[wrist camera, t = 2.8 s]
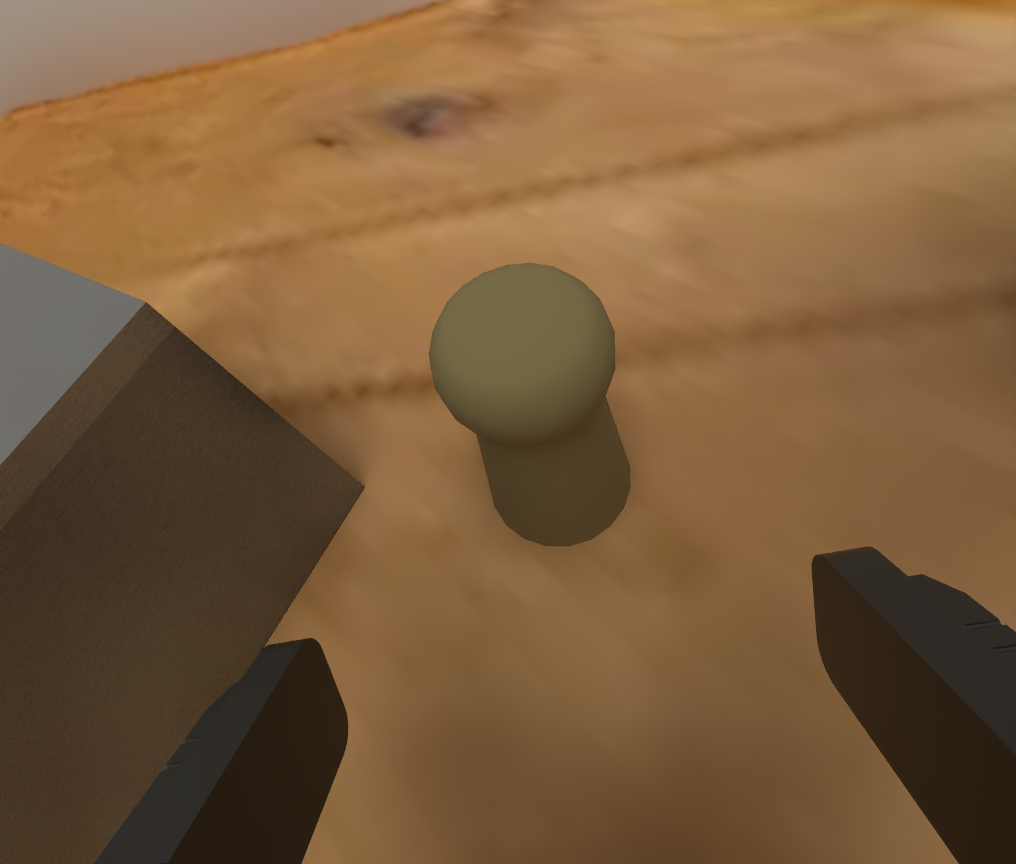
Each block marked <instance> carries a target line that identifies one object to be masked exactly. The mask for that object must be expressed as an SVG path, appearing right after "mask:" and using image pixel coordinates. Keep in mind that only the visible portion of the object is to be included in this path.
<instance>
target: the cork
mask: <svg viewBox="0 0 1016 864" xmlns="http://www.w3.org/2000/svg"><path fill="white" fill-rule="evenodd" d="M429 358H430V365H431V370H432V375H433V380H434V384H435V389H436V391H437V392H438V394H439V395H440V397H441V399H442V400H443V402H444V403H445V405H446V406H447V408H448V409H449V410H450V412H451V413H452V415H453V416H454V418H455V419H456V420H457V421H458V422H460V423H461V424H463V425H464V426H466V427H467V428H468V429H470V430H471V431H473V432H474V433H476V434H477V438H478V442H479V446H480V450H481V453H482V457H483V461H484V465H485V469H486V473H487V477H488V481H489V485H490V489H491V493H492V497H493V501H494V504H495V508H496V509H497V511H498V512H499V514H500V516H501V517H502V519H503V520H504V522H505V523H506V525H507V526H509V527H510V528H511V529H513V530H514V531H515V532H516V533H518V534H519V535H520V536H522V537H523V538H525V539H528V540H530V541H533V542H536V543H539V544H542V545H545V546H570V545H573V544H577V543H580V542H583V541H587V540H590V539H592V538H593V537H595V536H596V535H598V534H599V533H601V532H602V531H604V530H605V529H607V528H608V527H609V526H610V525H611V524H612V523H613V521H614V520H615V519H616V517H617V516H618V515H619V514H620V512H621V511H622V510H623V508H624V505H625V502H626V499H627V496H628V493H629V490H630V466H629V463H628V460H627V457H626V454H625V452H624V449H623V446H622V443H621V440H620V437H619V434H618V431H617V428H616V426H615V423H614V420H613V417H612V414H611V411H610V408H609V405H608V402H607V400H606V397H605V395H606V393H607V390H608V387H609V385H610V382H611V379H612V376H613V374H614V371H615V332H614V329H613V327H612V325H611V322H610V320H609V318H608V316H607V313H606V311H605V309H604V307H603V305H602V302H601V300H600V299H599V298H598V297H597V296H596V295H595V294H594V293H593V292H592V291H591V290H590V289H589V288H588V287H587V286H586V285H585V284H584V283H583V282H582V281H580V280H579V279H577V278H576V277H574V276H572V275H570V274H568V273H566V272H564V271H562V270H560V269H558V268H556V267H553V266H546V265H540V264H534V263H525V264H514V265H506V266H503V267H500V268H497V269H494V270H491V271H488V272H485V273H483V274H481V275H479V276H478V277H476V278H474V279H473V280H471V281H470V282H468V283H466V284H465V285H463V286H462V287H461V288H460V289H459V290H458V291H457V292H456V293H455V294H454V295H453V296H452V298H451V299H450V300H449V301H448V302H447V303H446V305H445V307H444V309H443V311H442V313H441V314H440V316H439V318H438V320H437V322H436V325H435V327H434V329H433V332H432V339H431V345H430V351H429Z"/></svg>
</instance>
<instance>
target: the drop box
mask: <svg viewBox="0 0 1016 864" xmlns="http://www.w3.org/2000/svg"><path fill="white" fill-rule="evenodd" d="M363 489H364V486H363V485H361V484H360V483H359V482H358V481H357V480H356V479H354V478H353V477H352V476H351V475H350V474H348V473H347V472H346V471H345V470H344V469H343V468H341V467H340V466H339V465H338V464H337V463H335V462H334V461H333V460H332V459H331V458H330V457H328V456H327V455H326V454H325V453H324V452H322V451H321V450H320V449H319V448H318V447H317V446H315V445H314V444H313V443H312V442H311V441H309V440H308V439H307V438H306V437H305V436H304V435H302V434H301V433H300V432H299V431H298V430H296V429H295V428H294V427H293V426H292V425H291V424H289V423H288V422H287V421H286V420H285V419H283V418H282V417H281V416H280V415H279V414H278V413H276V412H275V411H274V410H273V409H272V408H270V407H269V406H268V405H267V404H266V403H265V402H263V401H262V400H261V399H260V398H259V397H257V396H256V395H255V394H254V393H253V392H252V391H250V390H249V389H248V388H247V387H246V386H245V385H243V384H242V383H241V382H240V381H239V380H237V379H236V378H235V377H234V376H233V375H232V374H230V373H229V372H228V371H227V370H226V369H224V368H223V367H222V366H221V365H220V364H219V363H217V362H216V361H215V360H214V359H213V358H211V357H210V356H209V355H208V354H207V353H206V352H204V351H203V350H202V349H201V348H200V347H198V346H197V345H196V344H195V343H194V342H193V341H191V340H190V339H189V338H188V337H187V336H185V335H184V334H183V333H182V332H181V331H180V330H178V329H177V328H176V327H175V326H174V325H172V324H171V323H170V322H169V321H168V320H167V319H165V318H164V317H163V316H162V315H161V314H159V313H158V312H157V311H156V310H155V309H154V308H152V307H151V306H150V305H149V304H148V303H146V302H145V301H142V300H140V299H137V298H135V297H132V296H130V295H127V294H125V293H122V292H120V291H117V290H115V289H112V288H110V287H108V286H105V285H103V284H100V283H98V282H95V281H93V280H90V279H88V278H85V277H83V276H80V275H78V274H75V273H73V272H70V271H68V270H66V269H63V268H61V267H58V266H56V265H53V264H51V263H48V262H46V261H43V260H41V259H38V258H36V257H33V256H31V255H28V254H26V253H24V252H21V251H19V250H16V249H14V248H11V247H9V246H6V245H4V244H1V243H0V864H94V862H95V861H96V860H97V858H98V857H99V855H100V854H101V853H102V851H103V850H104V849H105V847H106V846H107V845H108V843H109V842H110V840H111V839H112V838H113V836H114V835H115V834H116V832H117V831H118V829H119V828H120V827H121V825H122V824H123V823H124V821H125V820H126V819H127V817H128V816H129V814H130V813H131V812H132V810H133V809H134V808H135V806H136V805H137V804H138V802H139V801H140V799H141V798H142V797H143V795H144V794H145V793H146V791H147V790H148V788H149V787H150V786H151V784H152V783H153V782H154V780H155V779H156V778H157V776H158V775H159V773H160V772H161V771H162V770H166V768H167V763H168V761H169V760H170V758H171V757H172V756H173V754H174V753H175V752H176V750H177V749H178V747H179V746H180V745H181V744H185V741H186V740H185V738H186V737H187V735H188V734H189V732H190V731H191V730H192V728H193V727H194V726H195V724H196V723H197V722H198V720H199V719H200V717H201V716H202V715H203V713H204V712H205V711H206V709H207V708H208V707H209V706H210V705H212V704H213V703H214V702H215V701H216V700H217V699H218V698H219V697H221V696H222V695H223V694H224V693H225V692H226V691H227V690H228V689H229V688H231V687H232V686H233V685H234V684H235V683H236V682H239V681H240V680H241V678H242V677H243V676H244V674H245V673H246V671H247V670H248V668H249V667H250V666H251V664H252V663H253V661H254V660H255V659H256V657H257V656H258V654H259V653H260V652H261V650H262V648H263V647H264V645H265V644H266V642H267V640H268V639H269V637H270V636H271V634H272V633H273V631H274V629H275V628H276V626H277V625H278V623H279V621H280V620H281V618H282V617H283V615H284V614H285V612H286V610H287V609H288V607H289V606H290V604H291V602H292V601H293V599H294V598H295V596H296V595H297V593H298V591H299V590H300V588H301V587H302V585H303V584H304V582H305V580H306V579H307V577H308V576H309V574H310V572H311V571H312V569H313V568H314V566H315V565H316V563H317V561H318V560H319V558H320V557H321V555H322V553H323V552H324V550H325V549H326V547H327V546H328V544H329V542H330V541H331V539H332V538H333V536H334V534H335V533H336V531H337V530H338V528H339V527H340V525H341V523H342V522H343V520H344V519H345V517H346V515H347V514H348V512H349V511H350V509H351V508H352V506H353V504H354V503H355V501H356V500H357V498H358V497H359V495H360V493H361V492H362V490H363Z"/></svg>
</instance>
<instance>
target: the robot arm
mask: <svg viewBox="0 0 1016 864" xmlns="http://www.w3.org/2000/svg"><path fill="white" fill-rule="evenodd" d="M812 580H813V593H814V606H815V619H816V633H817V643H818V648H819V652H820V655H821V658H822V661H823V664H824V667H825V669H826V671H827V673H828V675H829V677H830V679H831V681H832V683H833V684H834V686H835V687H836V689H837V690H838V692H839V693H840V694H841V696H842V697H843V699H844V700H845V702H846V703H847V704H848V706H849V707H850V709H851V710H852V712H853V713H854V714H855V716H856V717H857V719H858V720H859V722H860V723H861V724H862V726H863V727H864V729H865V730H866V732H867V733H868V734H869V736H870V737H871V739H872V740H873V742H874V743H875V744H876V746H877V747H878V749H879V750H880V752H881V753H882V754H883V756H884V757H885V759H886V760H887V762H888V763H889V764H890V766H891V767H892V769H893V770H894V772H895V773H896V774H897V776H898V777H899V779H900V780H901V782H902V783H903V784H904V786H905V787H906V789H907V790H908V792H909V793H910V794H911V796H912V797H913V799H914V800H915V802H916V803H917V804H918V806H919V807H920V809H921V810H922V812H923V813H924V814H925V816H926V817H927V819H928V820H929V822H930V823H931V824H932V826H933V827H934V829H935V830H936V832H937V833H938V834H939V836H940V837H941V839H942V840H943V842H944V843H945V844H946V846H947V847H948V849H949V850H950V852H951V853H952V854H953V856H954V857H955V859H956V860H957V862H958V863H959V864H1016V632H1015V631H1013V630H1012V629H1011V628H1010V627H1008V626H1007V625H1001V623H1000V621H999V619H998V618H997V617H995V616H994V615H993V614H992V613H990V612H989V611H988V610H986V609H985V608H984V607H983V606H981V605H980V604H979V603H977V602H976V601H975V600H974V599H972V598H971V597H970V596H968V595H967V594H966V593H964V592H962V591H959V590H957V589H955V588H952V587H950V586H948V585H946V584H943V583H941V582H939V581H937V580H934V579H932V578H930V577H927V576H925V575H923V574H920V575H914V576H907V575H906V574H904V573H903V572H902V571H901V570H900V569H899V568H897V567H896V566H895V565H894V564H893V563H892V562H890V561H889V560H888V559H887V558H886V557H885V556H883V555H882V554H881V553H880V552H879V551H877V550H876V549H875V548H872V547H862V548H856V549H850V550H844V551H838V552H832V553H826V554H820V555H816V556H815V557H814V558H813V561H812ZM347 739H348V718H347V713H346V709H345V706H344V704H343V701H342V699H341V696H340V693H339V691H338V688H337V686H336V683H335V681H334V678H333V676H332V673H331V670H330V668H329V665H328V663H327V660H326V658H325V655H324V652H323V650H322V648H321V646H320V644H319V643H318V642H317V641H316V640H315V639H313V638H308V639H302V640H296V641H290V642H284V643H278V644H272V645H268V646H266V647H264V648H263V649H262V650H261V652H260V653H259V654H258V656H257V657H256V659H255V660H254V661H253V663H252V664H251V666H250V667H249V668H248V670H247V671H246V673H245V674H244V676H243V677H242V678H241V680H240V681H239V682H236V683H235V684H234V685H233V686H232V687H231V688H229V689H228V690H227V691H226V692H225V693H224V694H223V695H222V696H221V697H219V698H218V699H217V700H216V701H215V702H214V703H213V704H212V705H210V706H209V707H208V708H207V709H206V711H205V712H204V713H203V715H202V716H201V717H200V719H199V720H198V722H197V723H196V724H195V726H194V727H193V728H192V730H191V731H190V732H189V734H188V735H187V737H186V738H185V740H186V741H185V744H181V745H180V746H179V747H178V749H177V750H176V752H175V753H174V754H173V756H172V757H171V758H170V760H169V761H168V763H167V768H166V770H162V771H161V772H160V773H159V775H158V776H157V778H156V779H155V780H154V782H153V783H152V784H151V786H150V787H149V788H148V790H147V791H146V793H145V794H144V795H143V797H142V798H141V799H140V801H139V802H138V804H137V805H136V806H135V808H134V809H133V810H132V812H131V813H130V814H129V816H128V817H127V819H126V820H125V821H124V823H123V824H122V825H121V827H120V828H119V829H118V831H117V832H116V834H115V835H114V836H113V838H112V839H111V840H110V842H109V843H108V845H107V846H106V847H105V849H104V850H103V851H102V853H101V854H100V855H99V857H98V858H97V860H96V861H95V862H94V864H301V863H302V861H303V858H304V856H305V853H306V851H307V848H308V845H309V843H310V840H311V838H312V835H313V832H314V830H315V827H316V825H317V822H318V820H319V817H320V814H321V812H322V809H323V807H324V804H325V802H326V799H327V796H328V794H329V791H330V789H331V786H332V784H333V781H334V778H335V776H336V773H337V771H338V768H339V765H340V763H341V760H342V758H343V755H344V752H345V749H346V745H347Z"/></svg>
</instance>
